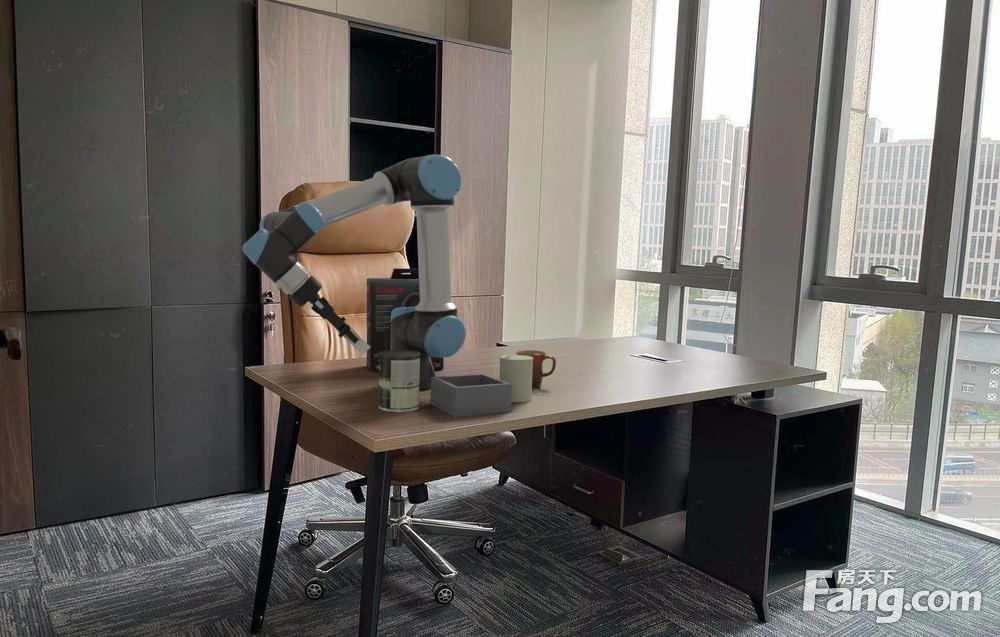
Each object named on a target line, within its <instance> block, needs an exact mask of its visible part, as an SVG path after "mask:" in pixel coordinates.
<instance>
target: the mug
mask: <svg viewBox="0 0 1000 637" xmlns="http://www.w3.org/2000/svg"><path fill="white" fill-rule="evenodd" d="M546 354H547V353H546V352H545V351H542V350H536V349H535V350H531V349H523V350H517V351H516V352H515V355H526V356H531V357H533V369H532V389H537V388H540V387H541V386H542V383H543V379H544V378H545V377H549V376H551V375H552V374H553V373H554V372H555V370H556V367H557V359H556V358H555V357H554V356H552V355H546ZM549 359H551V360H552V366H551V370H550V371H548V372H544V368H543V367H544V361H545V360H549Z"/></svg>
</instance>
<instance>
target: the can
mask: <svg viewBox="0 0 1000 637" xmlns="http://www.w3.org/2000/svg"><path fill="white" fill-rule="evenodd" d="M532 369H533V357H531V356H526V355H517V354H503V355H501V356H499V379H500V380H503V381H505V382H508V383H511V384H512V393H511V403H514V402H522V403H528V401H529V402H531V401H532V400H533V395H532V394H533V393H532V392H533V388H532Z"/></svg>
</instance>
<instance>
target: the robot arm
mask: <svg viewBox="0 0 1000 637" xmlns="http://www.w3.org/2000/svg"><path fill="white" fill-rule="evenodd" d="M461 187H462V175H461V171H460V169H459V166H458V165H457V164H456V163H455V162H454V160H452V159H451V158H450V157H448V156H447V155H446V156H445V155H442V154H428V155H427V154H426V155H423V156H417V157H410V158H407V159H405V160H402V161H399V162H397V163H395V164H393V165H391V166H389V167H386V168H384V169H382V170H378V171H377V172H374V174H373V177H371V178H368V179H365V180H363V181H361V182H357V183H354V184H351V185H349V186H345V187H343V188H341V189H338V190H335V191H332V192H330V193H329V192H328V193H325V194H324V195H321V196H317V197H315V198H313V199H310V200H309V199H308V200H307V201H303V202H301V203H299V204H298V203H297V205H293V206H291V207H288V208H285V209H281V210H279V211H272V212H270V213H267V214H265V215H264V216H263V217H262V218H261V220H260V223H259V230H258V231H257V232H256V233H255V234H254V235H252V236H251V237H250V238H249V239H248V240H247V241H246V242H245V243H244V244H243V245H242V248H241V249H242V252H243V253H244V255H246V256H245V257H247V258H248V259H249V260H250V261H251V263H252V264H253V265H255V266H256V267H257V268H258V269H259V270H260V271H261V272H262V273H263V274H264V275H266V276H267V277H268V279H270V280H271V281H272V282H273V283H274V284H275V285H276V287H275V289H276V290H277V291H280V290H281V291H282V292H283V293H284V294H285V295H289V299H290V300H291V301H292V302H293V303H295V305H296V306H297V307H299V308H301V307H304V306H305V305H307V303H308V302H309V304H311V305H312V306H311V307H310V308H311V310H312V311H313V312H314V313H316V314H317V315H319V316H320V317H321V318H322V320H327V321H328V322H329V323H330V325H332V326H333V328H335V329H336V330H337V331H338V333H339V334H338V337H340V339H342V338H344V339H345V340H346V341H347V342H348V343H349V344H351V345H352V347H353V348H354V349H355V350H357V351H358V352H359V353H360V354H361V355H362V356H364V354H366V353H367V350H368V349H369V348H370V346H369V345H368V344H367V341H365V340H364V339H363V338H362V337H361V336H360V335H359V334H358V333H357V332H356V331H355V330H354V329H353V328H352V327H351V326H350V325H349V323H347V322H346V320H347V318H345V317H344V316H342V317H341V316H339V315H338V314H337V313H336V312H335V307H333V306H332V305H331V304H330V303H329V301H328V300H327V299H326V298H325V297H324V296H321V297H320V295H318V294H317V293H319V292H320V290H321V289H322V287H323V286H322V284H321V282H320V281H318V279H317V278H316V277H315V276H313V275H310V271H309V270H308V269H307V268H306V267H305V266H304V265H303V264H302V263H301V262H299V260H298V259H296V258H295V256H294V255H295V254H296V253H297V252H299V251H300V250H301V248H303V247H304V246H305V245H306V244H307V243H308V242H309V241H310V240H311V239H312V238H313V237H314V236H315V235H318V232H320V230H321V229H322V228H323V227H326V226H329V225H332V224H334V223H337V222H339V221H342V220H345V219H348V218H349V217H353V216H355V215H358V214H361V213H363V212H366V211H368V210H371V209H373V208H376V207H379V206H381V205H384V206H386V207H387V206H393V205H394V204H397V203H402V202H403V203H404V202H410V208H411V209H412V210H413V211H414V212H415V213H416V229H417V230H416V233H417V234H416V235H417V236H416V237H417V258H418V262H417V264H418V270H419V292H420V302H419V304H418V305H417V306H416V307H401V308H395V309H393V310H392V313H391V320H390V322H391V350H412V351H417V352H420V372H419V391H421V390H431V377H437V375H436V371H435V369H433V366H432V362H431V356H432V357H436V358H438V357H440V358H444V359H445V358H446V359H447V358H450V357H452V356H454V355H456V354H457V353H458V352H459V350H460V349H462V348H463V345H464V343H465V339H466V333H467V332H466V327H465V324H464V323H463V322H462V320H461V319H460V318H459V317H458V307H457V305H456V304H454V302H453V301H452V285H451V284H452V283H451V282H452V280H451V279H452V278H451V277H452V276H451V250H450V249H451V248H450V247H451V246H450V222H449V221H450V216H449V214H450V211H452V209H453V208H454V207H455V197H456V196H457V195H458V193H459V191H460V189H461Z"/></svg>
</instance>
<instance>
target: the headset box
mask: <svg viewBox="0 0 1000 637" xmlns="http://www.w3.org/2000/svg"><path fill="white" fill-rule="evenodd" d="M419 302H420V292H419V268H399V267H398V268H395V267H394V268H393V269H392V272H391V276H390V277H385V278H383V277H378V278H377V277H373V278H369V277H368V278H366V343H367V344H368V345H369V346H370V348H369V349H368V350H367V351H366V366H368V367H367V368H368V370H369V371H370V372H372V371H373V372H379V352H381V351H386V350H391V322H390V320H391V313H392V310H393V309H395V308H401V307H416V306H417V305H418V304H419ZM444 359H445V358H440V357H438V358H436V357H432V356H431V362H432V366H433V369H434V370H444V362H445V361H444Z"/></svg>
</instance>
